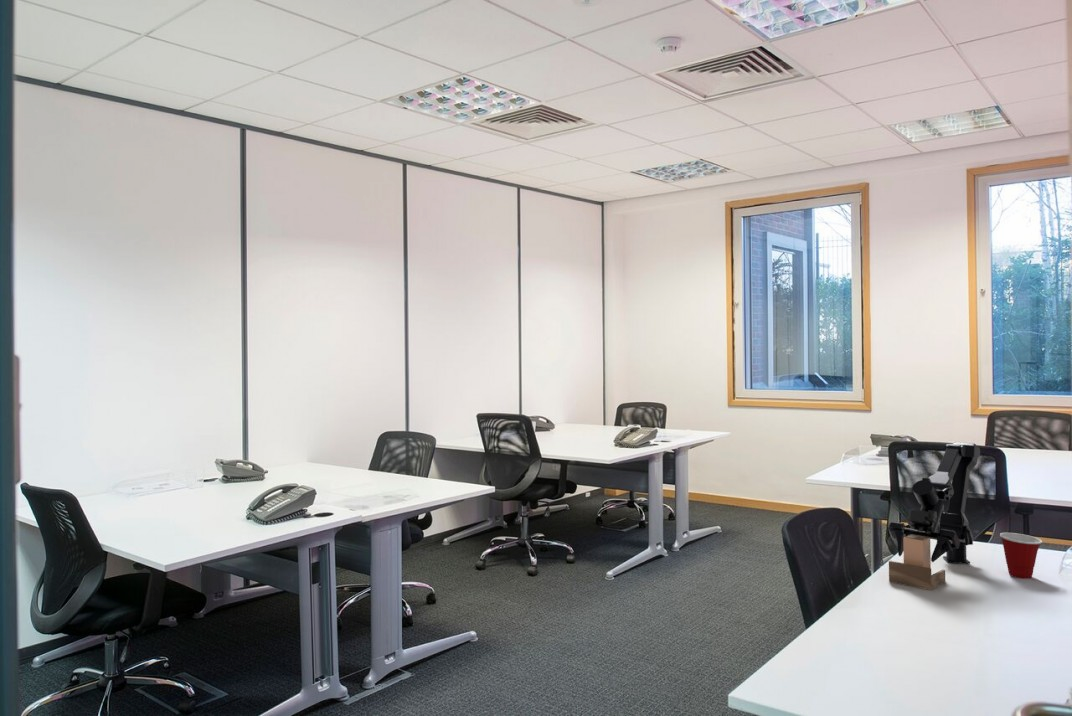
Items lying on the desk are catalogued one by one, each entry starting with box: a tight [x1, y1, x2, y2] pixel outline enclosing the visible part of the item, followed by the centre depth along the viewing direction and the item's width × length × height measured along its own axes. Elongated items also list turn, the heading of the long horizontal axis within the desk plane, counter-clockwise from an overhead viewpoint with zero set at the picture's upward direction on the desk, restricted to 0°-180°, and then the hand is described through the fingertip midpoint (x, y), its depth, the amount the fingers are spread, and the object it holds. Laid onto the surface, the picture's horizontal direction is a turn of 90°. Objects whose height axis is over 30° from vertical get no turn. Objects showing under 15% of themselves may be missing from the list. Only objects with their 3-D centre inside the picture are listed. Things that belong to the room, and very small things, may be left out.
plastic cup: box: [999, 532, 1043, 580], centre depth 225 cm, size 11×11×12 cm
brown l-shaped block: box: [888, 560, 946, 591], centre depth 221 cm, size 11×12×6 cm
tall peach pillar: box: [903, 534, 932, 569], centre depth 221 cm, size 6×6×13 cm
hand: (915, 558), depth 221 cm, fingers open, 9 cm apart
